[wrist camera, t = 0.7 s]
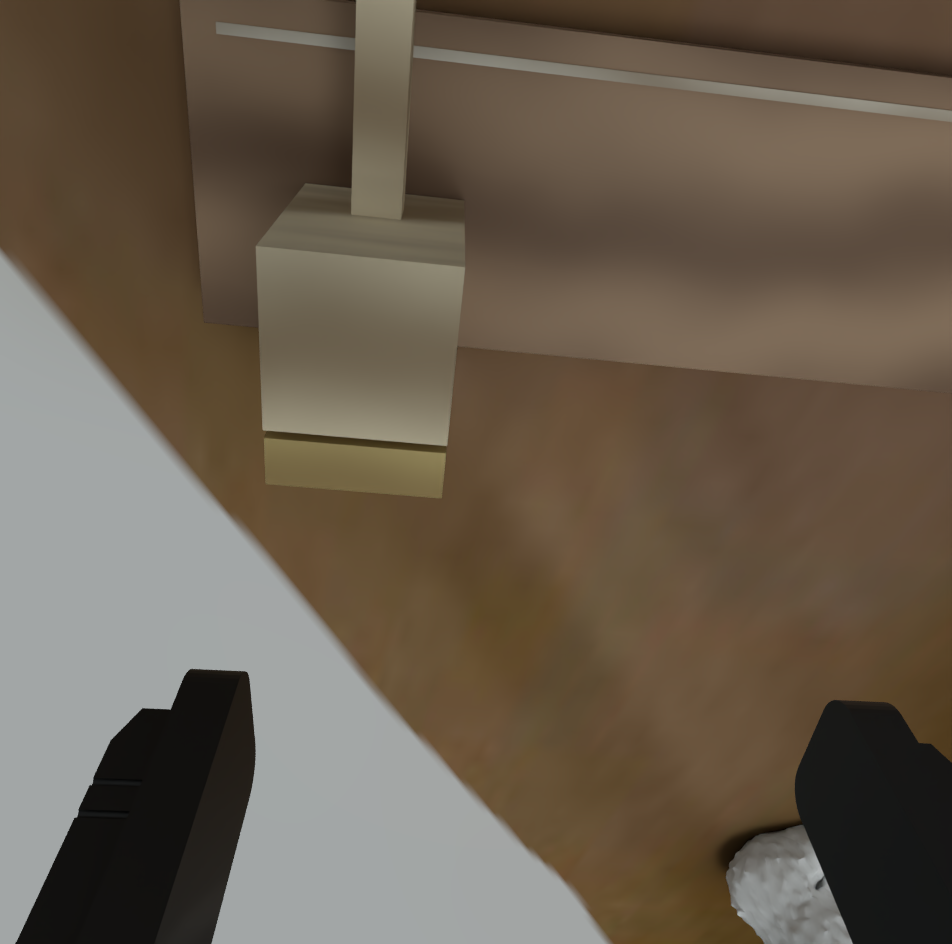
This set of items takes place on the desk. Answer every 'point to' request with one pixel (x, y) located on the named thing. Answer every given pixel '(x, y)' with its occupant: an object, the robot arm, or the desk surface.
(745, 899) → the seated beast figurine
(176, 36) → the desk surface
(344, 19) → the board
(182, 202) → the desk surface
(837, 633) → the desk surface
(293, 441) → the wooden mallet
